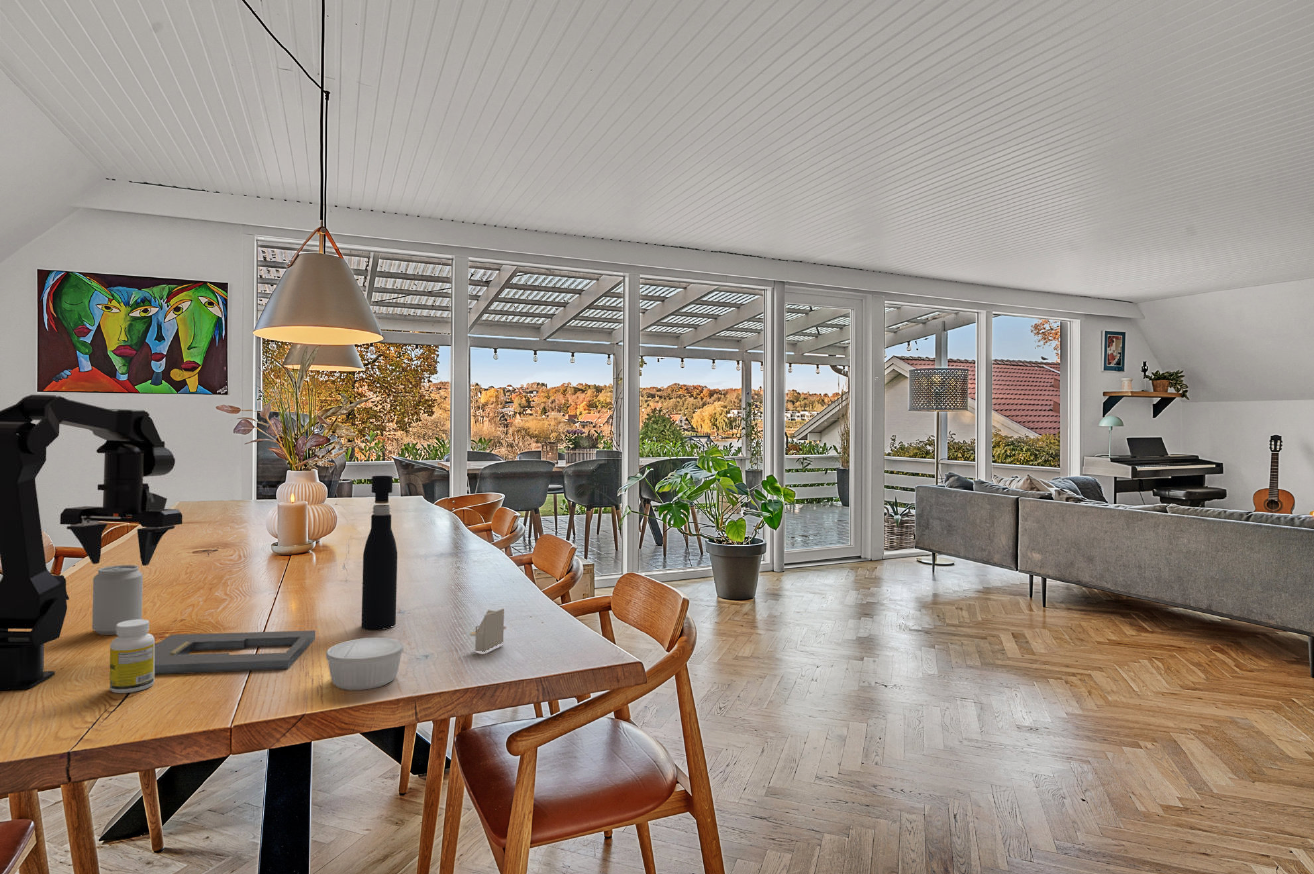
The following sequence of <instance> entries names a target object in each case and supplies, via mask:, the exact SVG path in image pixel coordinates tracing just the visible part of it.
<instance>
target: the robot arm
mask: <svg viewBox="0 0 1314 874" xmlns="http://www.w3.org/2000/svg"><path fill="white" fill-rule="evenodd" d="M33 421H38V422H37V423H33ZM60 425H63V426H69V427H73V428H80V429H84V430H89V431H91V432H92V434H93V435H94V436H96V437H98V438H100V439H102V440H105V442H104V443H103V444H102V445H101V446H99V447H98V448H97V449H96V453H97V454H104V459H103V461H104V463H103V465H104V466H103V483H99V484H97V491H102V494H103V496H102V506H93V505H92V506H88V505H85V506H76V507H67V508H66V507H65V508H64V509H63V511H62V512H61V513H60V516H59V525H67V526H66V529H67V530H70V531H71V532H72V533H73V535H74V536H75V538H76V539H77V540H78V542H79V543H80V544H81V545H80V546H82V548H83V550H84V552H85V553H86V555H87V556H88V558H89V560H90V562H91V563H92V564H93V565H97V564H99V563H100V560H101V554H102V537H103V532H104V530H105V529H106V527H107V525H108V523H106V522H114V523H115V522H116V523H117V522H119V523H139V524H140V526H141V528H137V529H136V531H137V532H136V533H137V541H138V548H139V549H138V550H139V558H140V561H141V566H143V567H144V566H149V565H150V562H151V560H152V558H153V556H154V553H155V551H156V549H157V547H158V545H159V543H160V541H161V540H162V538H163V536H164V535H165V534H166V533H167V532H169V530H174V529H175V528H176V526H177V525H183V513H182V512H181V510H180V509H178V508H177V509H176V508H166V505H167V501H168V498H167V497H165V496H162V495H159V494H157V493H155V492H154V493H153V492H150V485H149V483H147V482H146V483H145V482H144V477H147V478H148V477H160V476H165V475H167V474H169V473H171V471H172V470H173V469H174V467H175V463H176V458H175V457H174V456H175V455H174V454H173V452H172V451H171V450H170V449H168V448H167V447H165V446H166V443H165V441H164V440H163V441H162V438H161V436H160V434H159V432H158V429H157V428H156V425H155V423H154V420H153V419H152V418H151V417H150V413H149V412H148V411H146V410H144V409H121V408H120V409H119V408H117V409H116V408H105V407H100V406H97V405H93V404H88V403H85V402H80V401H77V400H71V399H68V398H65V397H64V396H61V395H57V394H56V395H52V394H49V395H48V394H30V395H27V396H24V397H22V398H21V399H20V400H19V401H18V402H17V403H15V404H13V405H11V406H9V407H7V408H4V409H1V410H0V566H1V572H2V575H1V579H0V691H4V690H6V691H7V690H25V689H27V690H28V689H31V688H33V687H34V686H37V685H38V684H39V683H42V682H44V681H46V680H47V679H49V678H51V677H53V676H54V675H55V674H56V671H55V670H48V671H47V670H46V671H44V668H45V666H44V663H45V644H47V643H49V642H51V641H54V640H55V641H56V640H57V639H59V638H60V637H61V632H62V630H63V626H64V622H65V619H66V615H67V611H68V604H67V601H69V600H70V596H69V595H68V592H67V580H66V578H65V576H64V575H63V574H62V575H60V574H52V573H51V571H49V570H48V568H47V561H46V554H45V548H44V547H45V546H44V538H43V531H42V523H41V517H40V516H41V515H40V507H39V501H38V493H37V492H38V491H37V484H36V478H37V476H38V474H39V473H40V471H41V469H42V468H43V467H44V465H45V463H46V461H47V448H48V447H49V445H51V444H52V443H53V442H54V441H55V440H56V439H57V438H58V437H59V435H60ZM114 514H115V515H118V516H115V515H114ZM102 522H105V523H102ZM12 630H13V631H12ZM15 630H16V631H15ZM21 630H22V631H21ZM23 630H24V631H23ZM25 630H26V631H25ZM27 630H30V631H27Z"/></svg>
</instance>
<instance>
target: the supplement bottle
mask: <svg viewBox="0 0 1314 874" xmlns="http://www.w3.org/2000/svg"><path fill="white" fill-rule="evenodd" d="M149 631H150V621H149V620H148V619H144V618H142V619H136V620H128V621H124V622H120V623H118V624H117V625H116V634H115V635H117V637H115V638H114V639H113V640H111V643H110V644H109V645H110V646H109V655H110V656H109V691H111V692H112V693H114V694H115V693H116V694H130V693H135V692H139V691H140V692H141V691H144V690H146V689H148V688H150V687H152V686H153V685H154V684H155V675H154V669H155V645H156V643H155V641H156V640H155V636H153V634H151V633H148V632H149Z"/></svg>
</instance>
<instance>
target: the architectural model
mask: <svg viewBox="0 0 1314 874" xmlns="http://www.w3.org/2000/svg"><path fill="white" fill-rule="evenodd" d="M483 616H484V617H483V619H482V621H481V622H480V625H478V626H477V625H476V626H475V631H471V632H470V633H469V636H470V637H474V638H475V641H474V642H475V643H474V644H475V646H474V647H475V648H474V649H475V650H476V651H482V652H483V651H484V652H485V651H486V650H489V649H490V648H493V647H494V646H497V645H498V644H501V643H502V642H503V643H504V630H507V627H506V626H504V625H505V622H504V621H505V608H500V609H499V610H492V609H488V610H487V611H486V613H485V614H484V615H483ZM475 650H474V651H475Z"/></svg>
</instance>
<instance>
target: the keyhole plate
mask: <svg viewBox="0 0 1314 874" xmlns="http://www.w3.org/2000/svg"><path fill="white" fill-rule="evenodd" d="M315 639H316V630H314V629H313V630H291V631H290V630H289V631H288V630H287V631H284V630H283V631H282V630H281V631H253V632H252V631H251V632H249V631H248V632H223V633H222V632H219V633H218V632H217V633H184V634H182V633H181V634H170V635H169V636H167V637H166V638H164V639H162V640H161V641H159V642H158V643H155V669H154V676H155V675H175V674H176V675H177V674H179V675H180V674H199V673H201V674H202V673H203V674H204V673H225V672H226V673H227V672H248V671H249V672H252V671H254V672H255V671H276V670H277V671H279V670H280V671H281V670H289V669H290V668H291V666H292V665H293V664H294V663H295V662H296V661H297V660H298V658H300V657H301V655H302V654H303V653H304V651H306V650H307V649H308V647H309V646H310V645H311V644H312V643H313V641H314V640H315ZM287 646H290V647H289V648H288V649H287V650H286V652H273V653H272V652H271V653H270V652H269V653H268V652H267V653H265V652H264V653H244V654H243V653H241V654H237V653H235V654H230V653H229V652H216V653H213V652H212V653H192V652H194V651H215V650H217V651H219V650H244V649H245V648H255V647H256V648H257V647H260V648H261V647H262V648H263V647H287ZM191 653H192V654H191Z"/></svg>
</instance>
